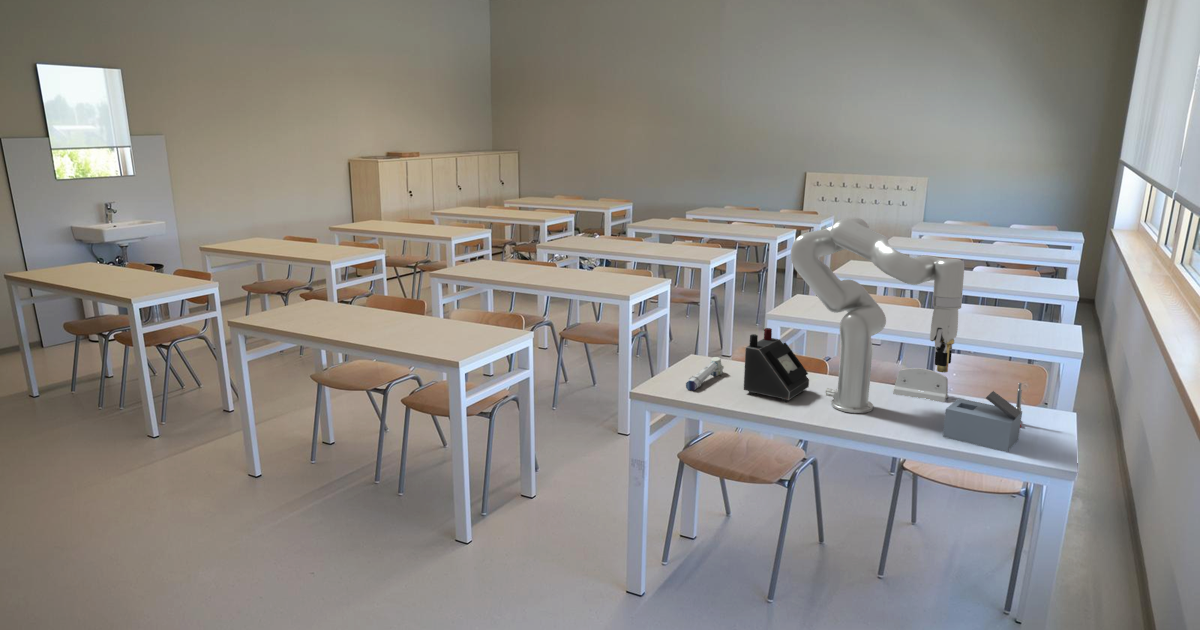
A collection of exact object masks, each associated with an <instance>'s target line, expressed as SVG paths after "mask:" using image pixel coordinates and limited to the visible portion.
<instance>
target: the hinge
mask: <svg viewBox="0 0 1200 630" xmlns="http://www.w3.org/2000/svg"><path fill="white" fill-rule="evenodd" d="M948 384H949V381H948V378H947V376H946V375H944V374H942V373H941V372H938V371H934V370H931V369H928V368H922V367H921V368H920V367H910V368H903V369H900V370H899V371H898V374H897V377H896V381H895V384H894V386H893V391H892V393H893V395H897V396H902V395H904V397H908V396H910V397H909V398H914V397H918V398H917V399H920V398H926V399H930V400H929V401H933V400H934V401H933V402H939V403H946V399H948V392H949V391H948V390H949V389H948ZM918 390H920V391H918ZM921 391H924V392H921ZM926 399H925V400H926Z"/></svg>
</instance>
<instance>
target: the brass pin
mask: <svg viewBox="0 0 1200 630" xmlns="http://www.w3.org/2000/svg"><path fill="white" fill-rule="evenodd" d="M935 341H936V339H935V340H934V342H935ZM941 342H944V340H941ZM954 344H955V338H954V339H953V340H951V341H949V342H948V343H947V351H946V353H948V354H947V366H945V367H944V366H938V365H936V372H938V373H948V372H949V364H948V363H949V350H950V345H952V346H953V345H954ZM941 345H943V346H944V344H941Z"/></svg>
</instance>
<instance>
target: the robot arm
mask: <svg viewBox="0 0 1200 630" xmlns="http://www.w3.org/2000/svg"><path fill="white" fill-rule="evenodd" d="M844 250H846V251H849V252H850V253H853V254H855V255H857V256H859V257H861V258H863V259H865V260H868V261H869V262H871V263H872V264H873V265H874V266H875V267H876V268H878V269H879V270H880V271H881V272H882V273H884V274H886V275H888V276H889V277H892V278H894V279H896V280H898V281H900V282H902V283H904V284H908V285H911V286H912V285H913V286H916V285H919V284H923V283H927V282H931V281H933V293H932V294H933V296H932V298H933V299H932V307H933V312H932V317H931V324H930V333H929V340H930V342H934V347H935V351H934V352H935V353H934V365H935V366H937V365H938V366H944V367H945V366H947V354H948V353H946V351H947V343H948V342H949V341H951V340H953V339H954V340H955V339H956V337H957V336H958V335H957V334H958V330H959V329H958V327H959V310H960V309H962V305H963V304H962V303H963V290H964V289H963V288H964V277H965V276H964V273H965V262H964V260H962V259H959V258H952V257H950V258H948V257H947V258H946V257H945V258H942V257H937V256H933V255H927V254H926V255H924V254H923V255H920V256H917V257H911V256H909V255H907V254H904V253H902V252H901V251H898V250H897V249H895V248H894V247H892V246H891V245H890V244H889V238H888V237H887V236H886V235H884V234H882V233H880V232H877V231H875V230H873V229H871V228H870V226H869V224H868V223H867V222H866V220H864V219H863V218H859V217H849V218H842V219H840V220H837V221H836V222H834V224H833V225H832V226H829V227H826V228H824V229H819V230H812V231H807V232H805V233H802V234H800V235H799V236H798V237H796V239H794V240H793V243H792V245H791V248H790V260H791V263H792V266H793V268H794V270H795V271H796V273H798V274H799V276H800V278H802V279H803V281H804V282H805V283H806V284H807V285H808V287H809V289H811V291H812V292H813V293H814V294H815V295H816V296H817V298H818V299H819V301H820V302H821V303H822V304H823V306H824V307H825V308H826V309H827V310H828V311H830V312H831V313H834V314H837V313H842V312H847V313H846V314H844V315H843V316H842V318H841V321H840V323H839V338H840V339H839V340H840V341H839V342H840V348H839V349H840V351H839V352H840V353H839V367H838V381H837V389H832V388H828V387H827V388H826V389H825V395H826V397H832V398H833V399H831V407H833V408H834V409H836V410H838V411H842V412H845V413H849V414H851V413H852V414H864V413H869V412H871V411H873V409H874V404H873V403H872V402H871V401H869V398H870V397H869V396H870V386H871V385H870V384H871V376H872V375H871V374H872V360H873V347H872V346H873V345H872V337H873V336H875V335H877V334H879V333H881V332H882V331H883V330H884V329H885V327H886V326H887V325H886V324H887V317H886V314H885V312H884V310H883V309H882V308H881V306H880V305H879V304H878V302H877V301H875V299H874V298H873V297H872V296H871V294H869V292H868V290H866V288H865V287H864V286H863V285H862V284H860V283H859V282H858V281H856V280H853V279H840V278H839V277H837V275H836V274H835V273H834V272H833V270H832V269H831V267H829V266H828V265H827V264H826V263H824V262H823V261H821V259H820V258H822V257H825V256H829V255H832V254H835V253H837V252H841V251H844ZM935 339H936V341H935ZM941 340H944V342H941ZM941 344H944V346H943V345H941ZM952 349H953V344H952V345H950V350H949V363H948V365H949V364H952V363H951V362H952V353H953V352H952V351H953V350H952Z"/></svg>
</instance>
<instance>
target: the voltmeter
mask: <svg viewBox="0 0 1200 630" xmlns="http://www.w3.org/2000/svg"><path fill="white" fill-rule="evenodd" d="M763 330H764V333H763V338H762V339H760V340H759V339H758V338H759V337H758V334H753V333H752V334H750V335H749V345H747V346H745V351H744V353H745V354H744V370H743V371H744V372H743V373H744V375H743V390H744V391H747V392H748V394H750V395H755V394H756V393H757V394H761V395H766V396H769V397H775V398H779V399H781V401H782V402H784V403H785V402H786V403H787V402H789V401H790V400H791V399H792V398H795V396H797V395H799V394H800V393H803V392H804V391H805V390H807V389H808V388H809V386H810V379H809V378H808V375H809V372H808V371H807V370H806V368H805V366H804V365H803V364H802V362H800V360H799V359H798V357H797V356H796V354H795V353H794V352H793V351H792V349H791V348H790V347H789V345H788V344H787V342H782V340H781V339H780V338H774V337H773V336H772V335H773V333H772V330H773V329H772V328H769V327H766V328H764V329H763Z"/></svg>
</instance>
